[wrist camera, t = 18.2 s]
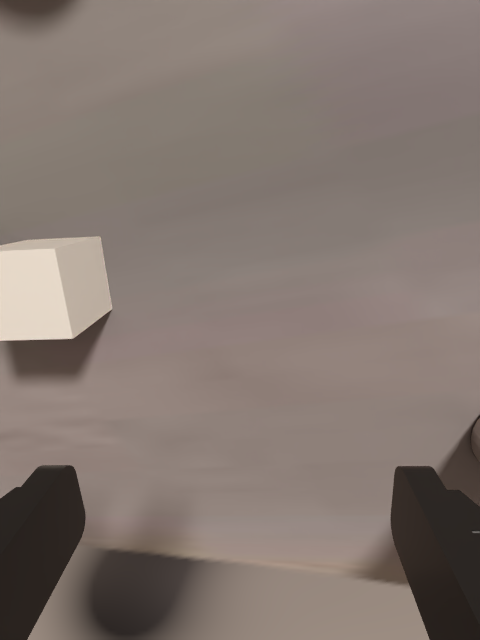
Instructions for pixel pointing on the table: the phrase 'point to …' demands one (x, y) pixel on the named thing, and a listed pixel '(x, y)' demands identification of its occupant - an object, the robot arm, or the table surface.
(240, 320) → the table surface
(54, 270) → the cream colored box
